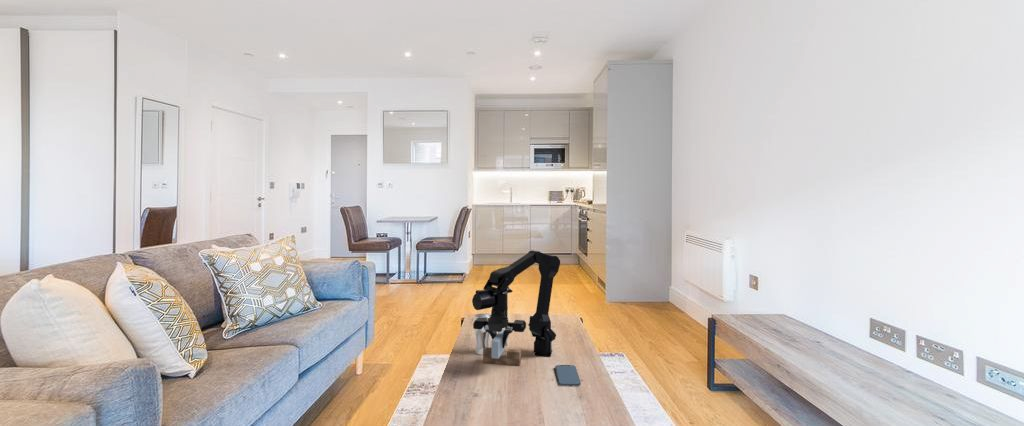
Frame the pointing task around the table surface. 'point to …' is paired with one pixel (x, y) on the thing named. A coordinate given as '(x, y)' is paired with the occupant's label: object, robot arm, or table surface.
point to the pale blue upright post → (498, 345)
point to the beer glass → (482, 335)
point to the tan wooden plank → (502, 357)
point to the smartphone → (567, 375)
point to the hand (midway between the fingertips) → (499, 347)
